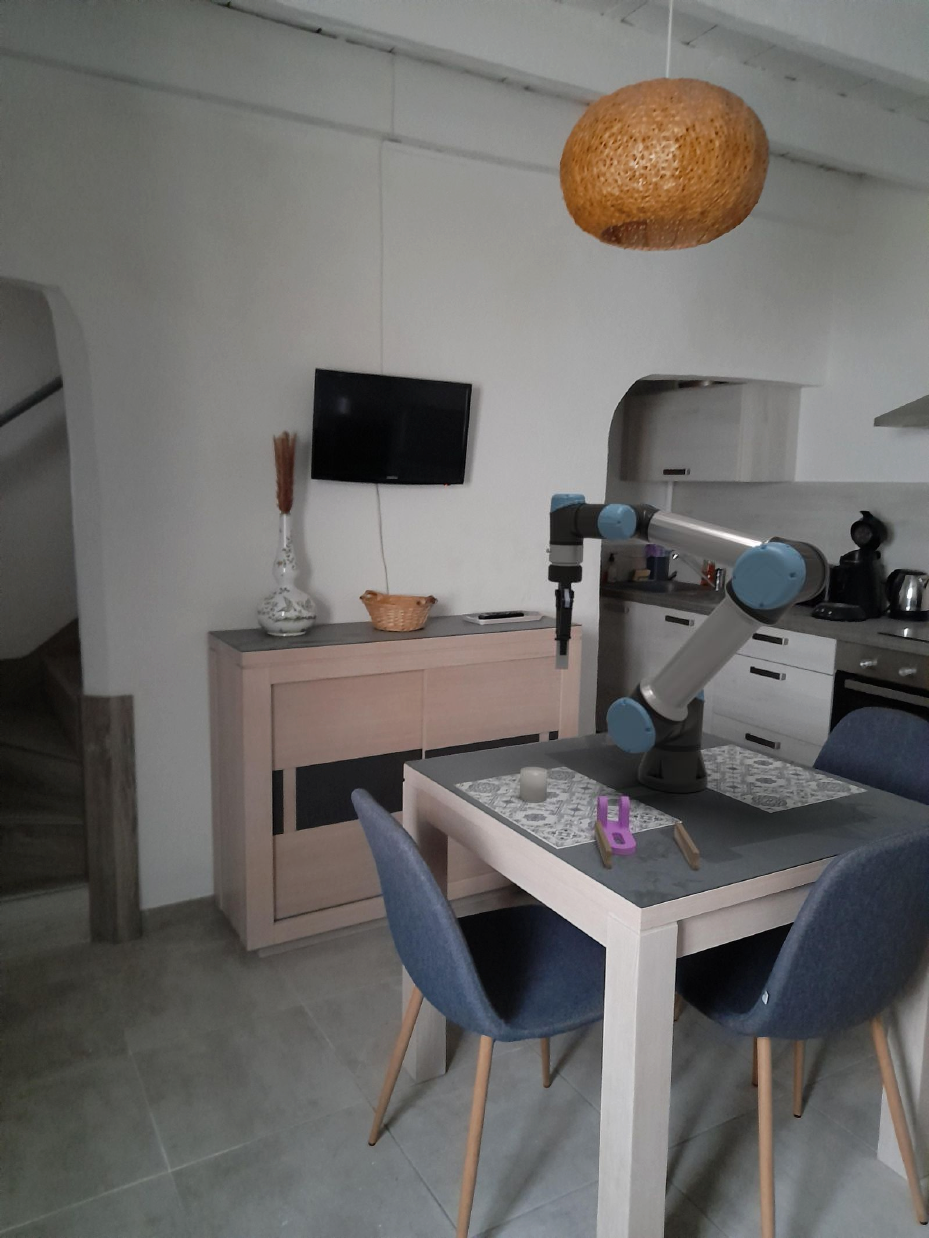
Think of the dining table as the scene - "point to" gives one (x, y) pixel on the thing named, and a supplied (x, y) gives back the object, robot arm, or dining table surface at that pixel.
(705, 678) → the robot arm
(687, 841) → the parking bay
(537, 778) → the white pillar candle
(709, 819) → the dining table surface
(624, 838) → the bracket
